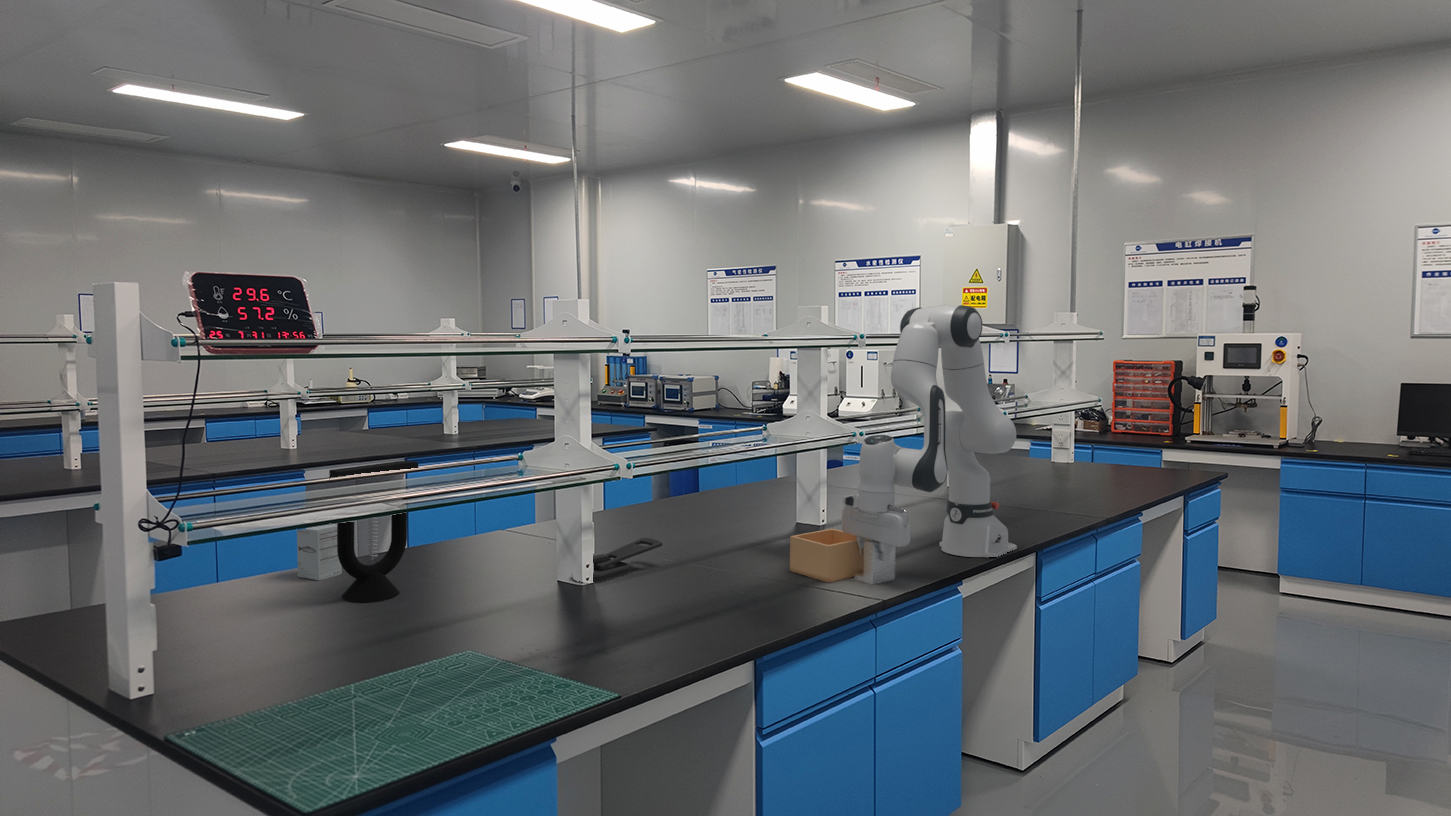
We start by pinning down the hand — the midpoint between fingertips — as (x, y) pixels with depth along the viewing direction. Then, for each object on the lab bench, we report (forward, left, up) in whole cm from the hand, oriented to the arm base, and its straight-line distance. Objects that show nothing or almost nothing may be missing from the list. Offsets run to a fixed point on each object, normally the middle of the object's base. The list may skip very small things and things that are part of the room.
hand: (874, 557), depth 220 cm
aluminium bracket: (-1, 0, -6) cm, 6 cm away
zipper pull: (+46, -44, -6) cm, 64 cm away
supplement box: (+106, -86, -6) cm, 137 cm away
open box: (+3, -12, -6) cm, 13 cm away
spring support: (+100, -62, -6) cm, 118 cm away
